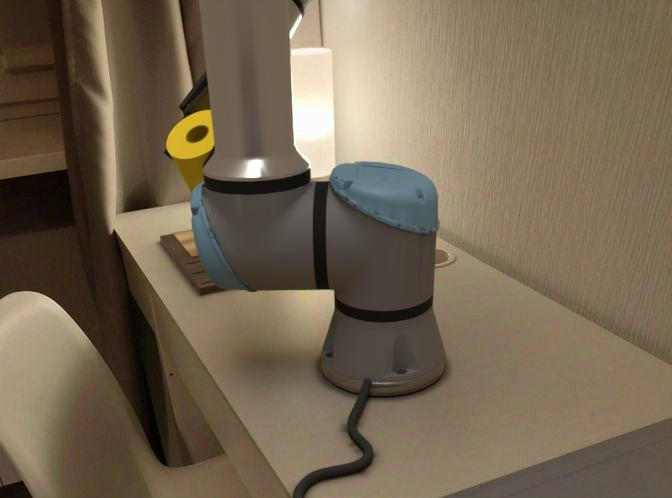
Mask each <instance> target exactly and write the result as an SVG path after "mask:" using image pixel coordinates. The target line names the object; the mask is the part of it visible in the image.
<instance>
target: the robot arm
mask: <svg viewBox="0 0 672 498" xmlns="http://www.w3.org/2000/svg"><path fill="white" fill-rule="evenodd" d="M312 2H313V0H198V7H199V15H200V26H201V34H202V43H203V44H202V45H203V53H204V61H205V62H204V63H205V71H204V72H203V73H202V75H201V76H200V78H198V80H197V81H196V83H195V84H194V86H193V87H192V88H191V90H190V91H189V92H188V93H187V95H186V96H185V97H184V98H183V100H182V101H181V102H180V104H179V105H178V109H179V110H180V111H181V112H182V114H183V115H182V118H181V120H180V121H182V120H183V119H184V118H186V117H188V116H189V115H191V114H194V113H196V112H199V111H203V110H211V117H212V126H213V135H214V146H213V148H212V150H211V152H210V153H209V155H208V157H207V159H206V161H205V162H204V164H203V166H202V167H203V175H204V182H201V183H200V184H198V185H197V186H196V187H195V188H194V190H193V191H192V193H191V194H190V195H191V196H190V212H191V220H190V221H191V222H190V223H191V229H192V230H193V235H194V240H195V245H196V248H197V252H198V255H199V258H200V261H201V264H202V266H203V268H204V270H205V272H206V274H207V276H208V277H209V278H210V279H211V281H212V282H213V283H214V284H215V285H217V286H218V287H220V288H223V289H227V290H232V291H233V290H234V291H246V292H248V293H257V292H260V291H261V292H264V291H265V292H269V291H270V292H271V291H333V300H334V307H333V313H332V315H331V319H330V321H329V326H328V328H327V332H326V335H325V338H324V341H323V346H322V349H321V353H320V354H321V355H320V356H321V370H322V373H323V375H324V376H325V378H326V379H327V380H328V381H329V382H330V383H331V384H333V385H335V386H336V387H338V388H340V389H342V390H346V391H347V392H351V393H354V394H358V395H357V397H356V400H355V402H354V404H353V407H352V409H351V410H350V412H349V415H348V416H347V417H348V418H347V421H346V422H347V423H346V425H347V426H346V428H347V431H348V435H349V436H350V437H351V439H352V440H353V442H355V443H356V444H357V445H358V446H359V447H360V448H361V449H362V451H363V455H362V456H361V457H360V458H359V459H356V460H354V461H351V462H346V463H343V464H336V465H332V466H331V465H330V466H326V467H323V468H319V469H316V470H313V471H311V472H309V473H307V474H306V475H305V476H303V477H302V478H301V480H300V481H299V482H298V483H297V484H296V486H295V487H294V489H293V492H292V498H303V497H304V493H305V491H306V490H307V489H308V487H309V486H310V485H312V484H313V483H314V482H316V481H319V480H321V479H325V478H328V477H329V478H330V477H334V476H339V475H345V474H350V473H353V472H356V471H360V470H361V469H364V468H365V467H366V466H368V465H369V464H370V462H371V461H372V460H373V457H374V447H373V446H372V444H371V443H370V442H369V441H368V440H367V439H366V438H365V437H364V436H363V435H362V434H361V433H360V432H359V430H358V428H357V421H358V419H359V416H360V414H361V412H362V410H363V408H364V406H365V403H366V400H367V397H368V396H373V397H392V396H400V395H405V394H410V393H415V392H417V391H420V390H423V389H425V388H427V387H429V386H431V385H432V384H434V383H436V381H437V380H438V379H440V377H442V375H443V373H444V370H445V360H446V350H445V349H446V348H445V345H444V343H443V338H442V336H441V332H440V328H439V326H438V325H439V324H438V321H437V319H436V314H435V311H434V294H435V293H434V292H435V274H436V273H435V272H436V252H437V235H438V233H437V232H438V231H439V230H440V225H441V224H440V220H439V193H438V189H437V186H436V184H435V183H434V182H433V180H432V179H430V178H429V177H428V176H427V175H426V174H424V173H422V172H420V171H418V170H415V169H413V168H410V167H407V166H403V165H400V164H395V163H389V162H382V161H369V160H359V161H358V160H357V161H355V162H343V163H340V164H338V165H336V166H333V168H332V169H331V172H330V174H329V176H328V180H312V168H311V161H310V159H308V158H307V157H306V156H305V155H304V154H303V153H302V152H301V151H300V150H299V149H298V146H297V145H296V127H295V107H294V106H295V105H294V87H293V67H292V46H291V45H292V44H291V39H292V37H293V36H294V35H295V31H296V30H297V28H298V26H299V24H300V23H301V21H302V20H303V18H304V16H305V14H306V12H307V11H308V9H309V7H310V6H311V4H312ZM163 154H164V155H165V156H167V157H168V158H169V159H170V160H171V161H173V159H172V157H171V156H170V154H169V152H168V150H167V147H166V148H165V149H164V151H163Z"/></svg>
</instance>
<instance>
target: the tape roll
mask: <svg viewBox="0 0 672 498" xmlns="http://www.w3.org/2000/svg"><path fill="white" fill-rule="evenodd" d="M182 119H183V118H182ZM182 119H181V120H182ZM181 120H180V121H179V122H178V123H177V124H176V125H175V126H173V128H172V129H171V131H170V132H169V134H168V136H167V139H166V143H165V144H166V145H165V146H166V148H167V150H168V152H169V154H170V156H171V157H172V159H173V160H172V159H171V160H172V162H173V163H174V165H175V166H176V168H177V170H178V172H179V174H180V175H181V177H182V179H183V181H184V183H185V184H186V186H187V188H188V190H189V191H190V193H191V194H192V191H193V190H194V188H195V187H196V186H197V185H198V184H200V183H201V182H204V175H203V167H202V166H203V164H204V162H205V161H206V159H207V157H208V155H209V153H210V152H211V150H212V148H213V146H214V135H213V126H212V117H211V110H203V111H199V112H196V113H194V114H191V115H189V116H188V117H186V118H184V119H183V120H182V121H181Z"/></svg>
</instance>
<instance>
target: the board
mask: <svg viewBox="0 0 672 498" xmlns="http://www.w3.org/2000/svg"><path fill="white" fill-rule="evenodd" d="M159 239H160V243H161V244H162V246H163V247H164V248H165V250H166V251H167V252H168V254H169V255H170V256H171V258H172V259H173V261H174V262H175V263H176V264H177V266H178V267H179V268H180V270H181V271H182V272H183V274H184V276H185V277H186V278H187V279H188V280H189V282H190V283H191V284H192V286H193V287H194V288H195V290H196V291H197V292H198V293H199V295H201V296H204V295H207V294H208V295H209V294H212V293H217V292H223V291H226V290H228V289H223V288H220V287H218V286H217V285H215V284H214V283H213V282H212V281H211V279H210V278H209V277H208V276H207V274H206V272H205V270H204V268H203V266H202V264H201V261H200V258H199V255H198V252H197V248H196V245H195V240H194V235H193V230H192V228H191V229H185V230H181V231H180V230H179V231H174V232H172V233H169V234H162V235H159Z"/></svg>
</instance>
